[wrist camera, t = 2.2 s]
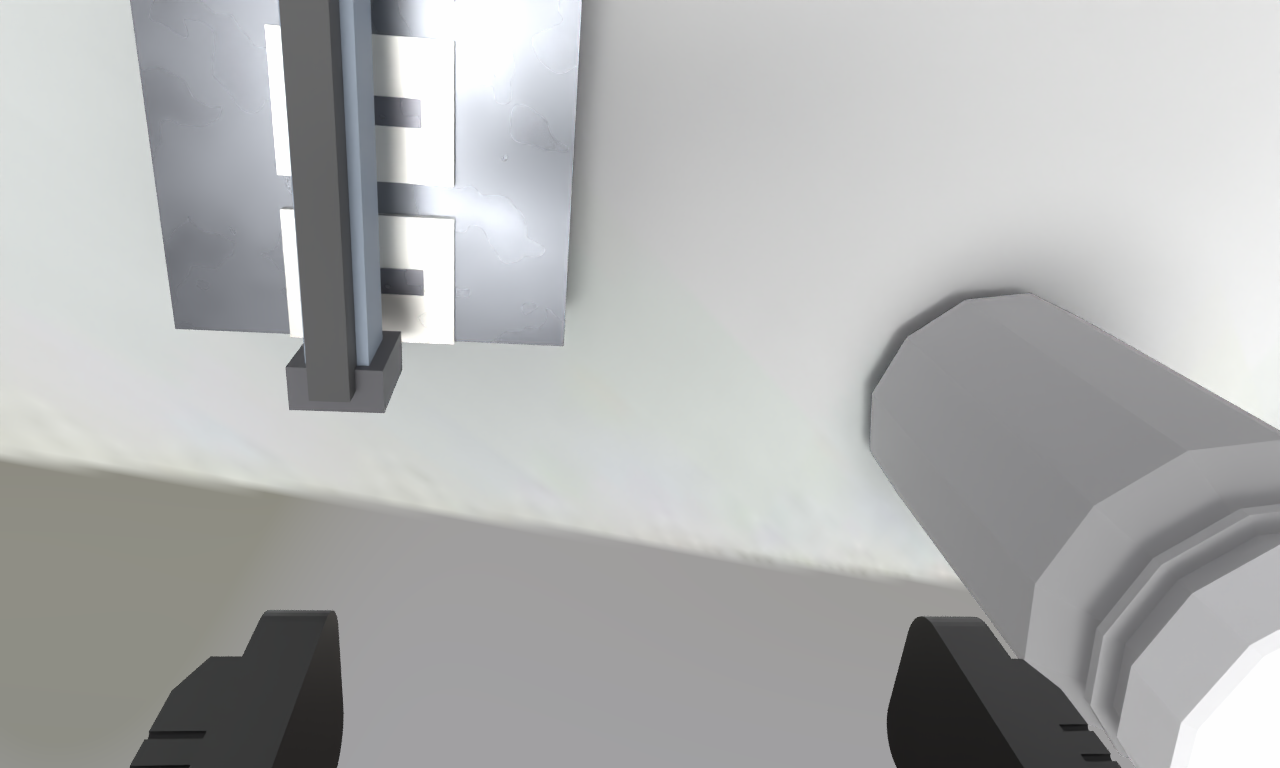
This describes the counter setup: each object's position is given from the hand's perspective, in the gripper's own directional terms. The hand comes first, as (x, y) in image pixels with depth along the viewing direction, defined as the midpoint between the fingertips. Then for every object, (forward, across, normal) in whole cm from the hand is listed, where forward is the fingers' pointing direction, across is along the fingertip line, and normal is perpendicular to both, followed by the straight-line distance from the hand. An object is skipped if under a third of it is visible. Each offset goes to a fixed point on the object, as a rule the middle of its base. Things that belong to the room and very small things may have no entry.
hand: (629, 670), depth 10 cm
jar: (+22, -17, +6) cm, 28 cm away
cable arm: (+16, +6, -5) cm, 18 cm away
